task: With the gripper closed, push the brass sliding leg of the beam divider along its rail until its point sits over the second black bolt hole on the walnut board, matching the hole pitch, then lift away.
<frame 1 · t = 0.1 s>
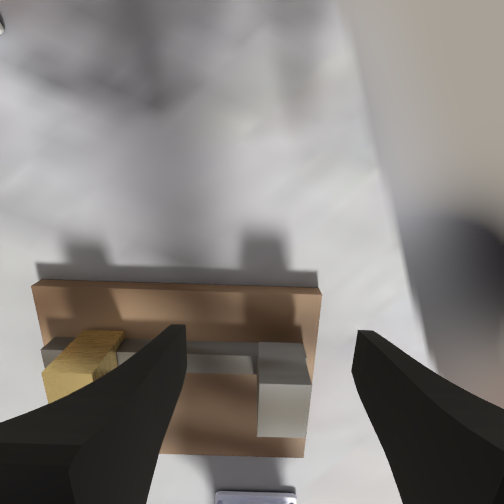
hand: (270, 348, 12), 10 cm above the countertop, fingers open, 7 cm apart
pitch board: (184, 370, 25), on the countertop
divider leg: (92, 380, 20), point 4 cm above the countertop, slide at 4.0 cm
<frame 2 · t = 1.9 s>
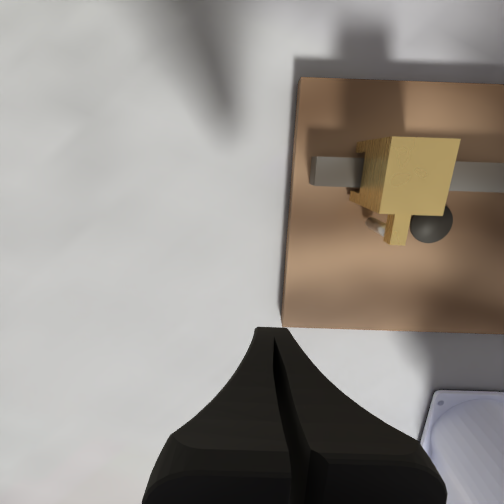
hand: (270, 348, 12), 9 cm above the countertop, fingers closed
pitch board: (442, 220, 20), on the countertop
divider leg: (392, 191, 16), point 4 cm above the countertop, slide at 4.0 cm
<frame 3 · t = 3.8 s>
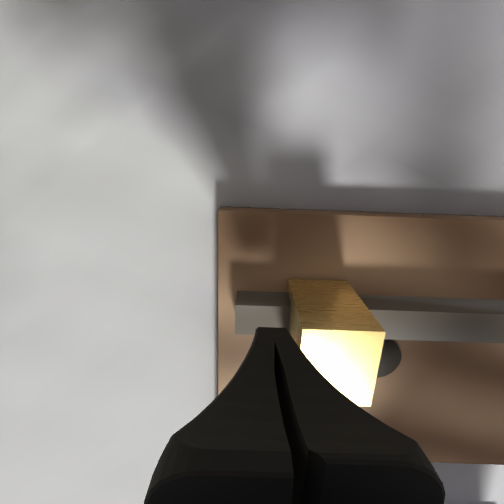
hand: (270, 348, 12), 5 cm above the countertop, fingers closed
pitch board: (393, 344, 18), on the countertop
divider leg: (322, 350, 14), point 4 cm above the countertop, slide at 3.9 cm, touching gripper
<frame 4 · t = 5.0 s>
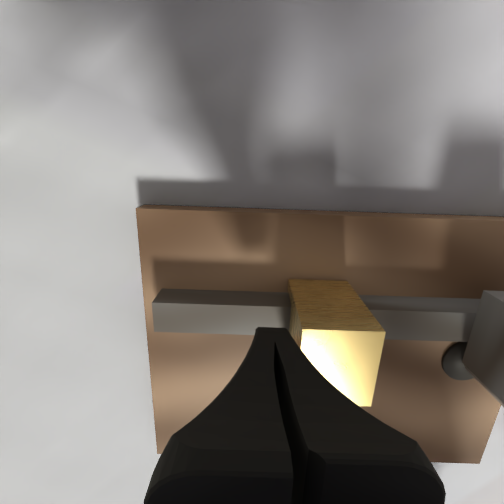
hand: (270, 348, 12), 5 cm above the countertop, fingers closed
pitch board: (328, 342, 18), on the countertop
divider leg: (322, 350, 14), point 4 cm above the countertop, slide at -0.1 cm, touching gripper
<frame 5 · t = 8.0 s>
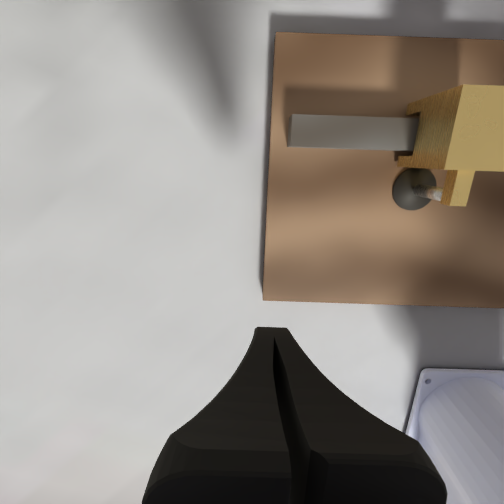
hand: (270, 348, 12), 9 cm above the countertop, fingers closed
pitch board: (426, 188, 19), on the countertop
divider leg: (449, 151, 15), point 4 cm above the countertop, slide at -0.1 cm
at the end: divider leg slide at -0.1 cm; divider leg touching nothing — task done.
